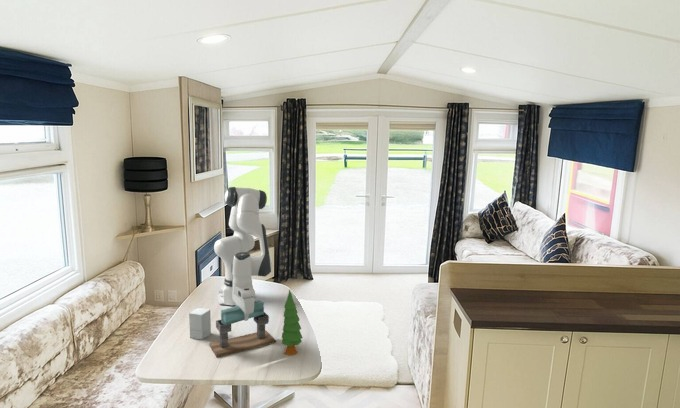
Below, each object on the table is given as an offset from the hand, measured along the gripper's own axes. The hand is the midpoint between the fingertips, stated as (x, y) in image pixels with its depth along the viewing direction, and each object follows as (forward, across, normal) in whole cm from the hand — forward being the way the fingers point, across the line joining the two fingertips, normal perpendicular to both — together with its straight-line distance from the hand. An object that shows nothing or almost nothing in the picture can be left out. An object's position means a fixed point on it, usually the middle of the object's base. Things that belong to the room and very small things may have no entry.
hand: (242, 316), depth 193 cm
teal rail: (+1, 0, 0) cm, 1 cm away
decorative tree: (+14, +18, +17) cm, 29 cm away
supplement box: (+14, -19, -15) cm, 28 cm away
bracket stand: (+14, 0, 0) cm, 14 cm away
